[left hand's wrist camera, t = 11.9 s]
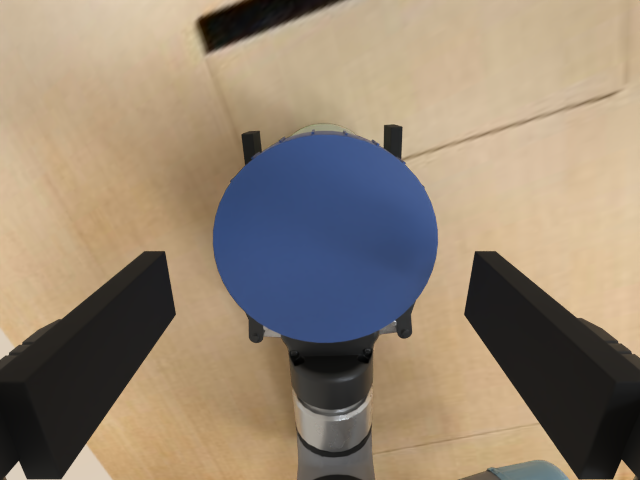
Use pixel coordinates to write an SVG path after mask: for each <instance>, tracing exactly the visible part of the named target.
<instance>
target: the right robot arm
mask: <svg viewBox="0 0 640 480" xmlns="http://www.w3.org/2000/svg"><path fill="white" fill-rule="evenodd" d="M241 135H242V143H243V151H244V159H245V165H247V164H248V163H249V162H250V161H251V160H252V159H251V158H252V157H253V156H254V155H255V154H257V153H258V152H260V153H261V152H262V149H261V140H260V131H249V132H246V133H244V134H241ZM384 149H385V150H387V151H388V152H390V153H391V154H392V155H394V156H395V157H398V158H400V159H401V150H402V127H401V126H398V125H384ZM414 304H415V302H414V303H413V304H412V305H411V306H410V307H409V308H408V310H407V311H406V312H405V313H404V314H402V315H401V316H400V317H399V318H397V319H396V320H395V321H393V322H392V323H390V324H389V325H387V326H385V327H384V328H382V329H380V330H378V331H376V332H374V333H372V334H369V335H366V336H363V337H361V338H358V339H353V340H349V341H343V342H334V343H316V342H307V341H302V340H297V339H293V338H290V337H287V336H284V335H281V334H279V333H276V332H274V331H272V330H270V329H268V328H266V327H265V326H263V325H262V324H260V323H258V322H257V321H256V320H254V319H253V318H252V317H251V316H249V315H248V314H247V313H246V315H247V317H248V319H249V339H250V340H251V341H252V342H254V343H259V342H261V341H262V340H263V337H264V336H266V337H281V338H282V340H283V342H284V343H285V344H286V346H287V348H288V352H289V362H290V373H291V382H292V387H293V389H292V394H293V403H294V412H295V423H296V430H297V443H298V474H297V480H375V475H374V468H373V459H372V433H371V428H372V409H373V388H372V383H373V346H374V343H375V341H376V340H377V338H378V337H379V334H387V333H395V332H397V333H398V336H399V337H400V338H408V337H410V336H411V334H412V325H411V313H412V310H413V307H414ZM459 480H569V479H568V477H567V476H566V475H565V474H564V473H563V472H562V471H561V470H560V469H559V468H558V467H556V466H555V465H553V464H551V463H549V462H547V461H544V460H534V461H529V462H524V463H520V464H515V465H510V466H505V467H500V468H493V467H491V468H488V469H487V470H486V471H485V472H481V473H478V474H475V475H472V476H469V477H465V478H462V479H459Z"/></svg>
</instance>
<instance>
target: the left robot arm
mask: <svg viewBox="0 0 640 480" xmlns="http://www.w3.org/2000/svg"><path fill="white" fill-rule="evenodd" d="M175 315H176V313H175V307H174V301H173V295H172V289H171V284H170V278H169V272H168V266H167V260H166V255H165V251H144V252H143V253H142V254H141V255H139V256H138V257H137V258H136V259H135V260H133V261H132V262H131V263H130V264H128V265H127V266H126V267H125V268H124V269H122V270H121V271H120V272H119V273H117V274H116V275H115V276H114V277H113V278H111V279H110V280H109V281H108V282H107V283H105V284H104V285H103V286H102V287H100V288H99V289H98V290H97V291H96V292H94V293H93V294H92V295H91V296H89V297H88V298H87V299H86V300H85V301H83V302H82V303H81V304H80V305H78V306H77V307H76V308H75V309H74V310H72V311H71V312H70V313H69V314H67V315H66V316H65V317H64V318H63V319H58V320H56V321H54V322H53V323H51V324H49V325H47V326H45V327H43V328H41V329H39V330H37V331H36V332H35V333H34V334H32V335H31V336H30V337H29V338H27V339H26V340H25V341H24V342H22V345H18V346H17V347H16V348H15V349H13V350H12V351H11V352H10V353H9V355H8V356H5V357H3V358H2V359H1V360H0V480H6V477H5V476H6V475H7V474H8V473H9V471H10V470H11V469H12V468H13V467H14V465H15V464H16V463H17V462H18V461H19V462H20V464H21V466H22V469H23V471H24V473H25V476H26V478H27V479H62V477H63V476H64V475H65V473H66V471H67V470H68V469H69V467H70V466H71V464H72V463H73V462H74V460H75V459H76V457H77V456H78V454H79V453H80V452H81V450H82V449H83V447H84V446H85V444H86V443H87V441H88V440H89V439H90V437H91V436H92V434H93V433H94V431H95V430H96V429H97V427H98V426H99V424H100V423H101V421H102V420H103V419H104V417H105V416H106V414H107V413H108V411H109V410H110V408H111V407H112V406H113V404H114V403H115V401H116V400H117V398H118V397H119V396H120V394H121V393H122V391H123V390H124V388H125V387H126V385H127V384H128V383H129V381H130V380H131V378H132V377H133V375H134V374H135V373H136V371H137V370H138V368H139V367H140V365H141V364H142V362H143V361H144V360H145V358H146V357H147V355H148V354H149V352H150V351H151V350H152V348H153V347H154V345H155V344H156V342H157V341H158V339H159V338H160V337H161V335H162V334H163V332H164V331H165V329H166V328H167V327H168V325H169V324H170V322H171V321H172V319H173V318H174V316H175ZM464 315H465V316H466V318H467V319H468V321H469V322H470V324H471V325H472V327H473V328H474V329H475V331H476V332H477V334H478V335H479V337H480V338H481V339H482V341H483V342H484V344H485V345H486V347H487V348H488V350H489V351H490V352H491V354H492V355H493V357H494V358H495V360H496V361H497V362H498V364H499V365H500V367H501V368H502V370H503V371H504V373H505V374H506V375H507V377H508V378H509V380H510V381H511V383H512V384H513V385H514V387H515V388H516V390H517V391H518V393H519V394H520V396H521V397H522V398H523V400H524V401H525V403H526V404H527V406H528V407H529V408H530V410H531V411H532V413H533V414H534V416H535V417H536V419H537V420H538V421H539V423H540V424H541V426H542V427H543V429H544V430H545V431H546V433H547V434H548V436H549V437H550V439H551V440H552V441H553V443H554V444H555V446H556V447H557V449H558V450H559V452H560V453H561V454H562V456H563V457H564V459H565V460H566V462H567V463H568V464H569V466H570V467H571V469H572V470H573V472H574V473H575V475H576V476H577V477H578V479H613V478H614V476H615V473H616V471H617V469H618V466H619V464H620V462H621V460H623V461H624V462H625V464H626V465H627V466H628V467H629V468H630V469H631V471H632V472H633V473H634V474H635V477H634V480H640V358H639V357H638V356H636V355H635V354H632V353H631V351H630V350H629V349H628V348H626V347H625V346H624V345H622V344H619V343H618V341H617V340H616V339H615V338H613V337H612V336H611V335H610V334H608V333H607V332H606V331H605V330H603V329H602V328H600V327H598V326H596V325H594V324H592V323H590V322H588V321H586V320H584V319H582V318H576V317H575V316H574V315H573V314H571V313H570V312H569V311H568V310H566V309H565V308H564V307H563V306H562V305H560V304H559V303H558V302H557V301H555V300H554V299H553V298H552V297H551V296H549V295H548V294H547V293H546V292H544V291H543V290H542V289H541V288H540V287H538V286H537V285H536V284H535V283H533V282H532V281H531V280H530V279H529V278H527V277H526V276H525V275H524V274H523V273H521V272H520V271H519V270H518V269H516V268H515V267H514V266H513V265H512V264H510V263H509V262H508V261H507V260H505V259H504V258H503V257H502V256H501V255H499V254H498V253H497V252H496V251H475V255H474V260H473V266H472V272H471V278H470V284H469V289H468V295H467V301H466V307H465V313H464Z"/></svg>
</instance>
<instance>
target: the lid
mask: <svg viewBox="0 0 640 480" xmlns="http://www.w3.org/2000/svg"><path fill="white" fill-rule="evenodd" d="M251 159H252V160H251V161H250V162H249V163H248V164H247V165H245V166H244V167H243V168H242V170H241V171H240V172H239V173H238V174H237V175H236V176H235V177H234V178H233V179H232V180H231V181H230V182H231V183H230V185H229V186H228V188H227V189H226V191H225V193H224V195H223V197H222V199H221V201H220V203H219V207H218V210H217V213H216V216H215V222H214V229H213V248H214V256H215V261H216V264H217V268H218V271H219V274H220V276H221V278H222V281H223V283H224V285H225V286H226V288H227V290H228V292H229V293H230V295H231V296H232V297H233V299H234V300H235V301H236V303H237V304H238V305H239V306H240V307H241V308H242V309H243V310H244V311H245V312H246V313H247V314H248V315H249V316H251V317H252V318H253V319H254V320H256V321H257V322H258V323H260V324H262V325H263V326H265V327H266V328H268V329H270V330H272V331H274V332H276V333H279V334H281V335H284V336H287V337H290V338H293V339H297V340H302V341H307V342H316V343H334V342H343V341H349V340H353V339H358V338H361V337H363V336H366V335H369V334H372V333H374V332H376V331H378V330H380V329H382V328H384V327H385V326H387V325H389V324H390V323H392V322H393V321H395V320H396V319H397V318H399V317H400V316H401V315H402V314H404V313H405V312H406V311H407V310H408V308H409V307H410V306H411V305H412V304H413V303H414V302H415V301H416V299H417V298H418V297H419V295H420V294H421V292H422V291H423V289H424V287H425V286H426V284H427V282H428V280H429V277H430V275H431V273H432V270H433V267H434V263H435V259H436V254H437V246H438V229H437V223H436V217H435V213H434V210H433V207H432V204H431V201H430V199H429V197H428V195H427V193H426V191H425V189H424V186H423V185H422V184H421V183H420V182H419V180H418V179H417V177H416V176H415V175H414V174H413V173H412V172H411V171H410V169H409V168H408V167H407V166H406V165H405V164H406V163H405V162H404V161H403V160H401V159H400V158H398V157H395V156H394V155H392V154H391V153H390V152H388V151H387V150H385V149H384V148H382V147H381V146H379V144H378V143H377V142H376V141H374V140H372V141H370V140H367V139H365V138H363V137H360V136H357V135H353V134H349V133H347V132H346V131H344V130H343V132H337V131H315V129H313V130H312V132H306V133H301V134H298V135H294V136H291V137H288V138H285V137H283V138H282V139H281V140H279V142H277V143H275V144H273V145H272V146H270V147H268V148H267V149H265V150H264V151H262V152H261V153H260V152H258V153H257V154H255V155H254V156H253V157H252V158H251Z"/></svg>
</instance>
